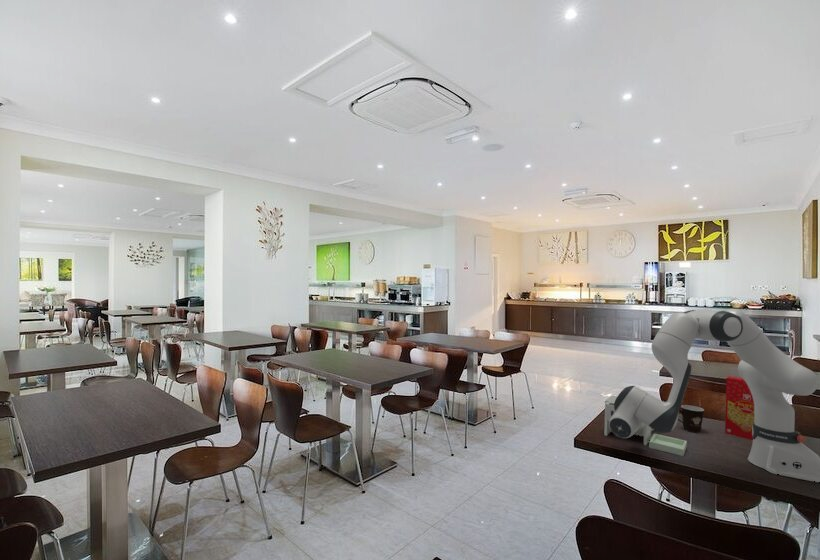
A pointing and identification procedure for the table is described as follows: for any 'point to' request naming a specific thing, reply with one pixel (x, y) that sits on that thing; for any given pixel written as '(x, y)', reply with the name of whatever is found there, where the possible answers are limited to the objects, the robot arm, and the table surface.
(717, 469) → the table surface
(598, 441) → the table surface
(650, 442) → the tray
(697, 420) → the coffee mug
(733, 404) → the food packaging
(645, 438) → the bay
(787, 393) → the robot arm
